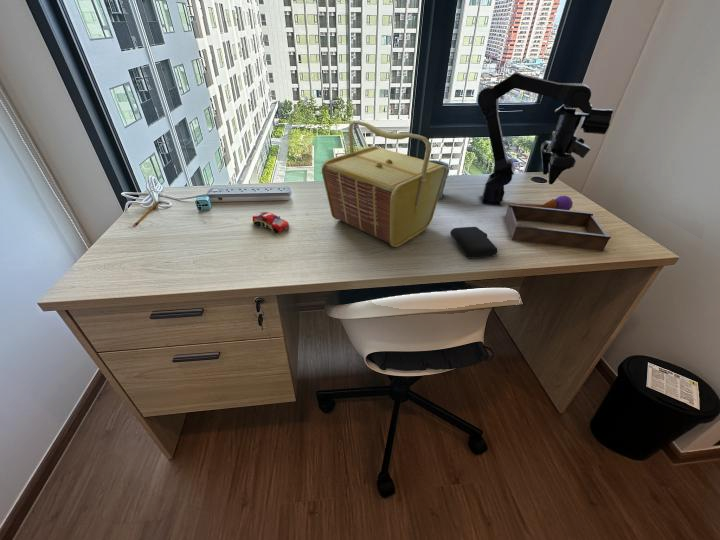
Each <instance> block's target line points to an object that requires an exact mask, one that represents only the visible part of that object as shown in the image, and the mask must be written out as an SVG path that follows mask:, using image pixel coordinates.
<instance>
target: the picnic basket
mask: <svg viewBox="0 0 720 540" xmlns="http://www.w3.org/2000/svg"><path fill="white" fill-rule="evenodd" d="M355 125H358V126H362V127H365V128H366V129H367V130H368V131H370V132H371V134H372V133H373V134H374V135H376V136H378V137H381V138H384V139H389V140H405V139H408V138H410V139H414V140H415V139H416V140H419V141H422V142H423V143H424V144H425V152H424V157H423V159H422V158H417V157H414V156H411V155H407V154H403V153H401V152H396V151H393V150H389V149H386V148H383V147H379V146H376V145H371V146H367V147H365V148H361V149H358V150H354V149H355V147H354V132H353V129H354V126H355ZM347 129H348V144H349V145H348V147H349V152H348V153H345V154H342V155H337V156H335V157H332V158H328V159H327V160H325V161H324V162H323V163H322V165H321V175H322V181H323V184H324V188H325V193H326V197H327V201H328V206H329V210H330V213H331V216H332V218H333V219H335V220H337V221H342V222H343V223H345V224H347V225H349V226H351V227H353V228H356V229H358V230H360V231H362V232H364V233H366V234H368V235H371V236H373V237H375V238H377V239H379V240H381V241H383V242H385V243H387V244H389V245H390V246H391V247H392V248H398V247H400V246H402V245H403V244H405V243H406V242H408V241H410V240H411V239H413V238H414V237H416V236H418V235H419V234H421V233H422V232H424V231H425V230H426V229H428V227H429V226H430V224H431V223H432V220H433V217H434V214H435V210H436V208H437V205H438V201H439V200H440V199H439V195H440V192H441V189H442V186H443V183H444V179H445V176H446V173H447V167H446V166H444V165H439V164H436V163H432V162H429V160H430V158H431V157H430V156H431V152H432V145H431V142H430V140H429V139H428V138H427V137H426V136H424V135H421V134H416V133H411V132H390V131H385V130H383V129H380V128H379V127H376V126H374V125H372V124H370V123H368V122H364V121H362V120H352V121H351V122H350V123H349V125H348V128H347Z"/></svg>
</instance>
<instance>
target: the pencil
mask: <svg viewBox="0 0 720 540" xmlns="http://www.w3.org/2000/svg"><path fill="white" fill-rule="evenodd" d="M159 203H160V200H157V201H156V202H155V203H154V204H153V205H152V206H151V207H150V208H149V209H148V210H147V211H146V212H145V213H144V214H143V215H142V216H141V217H140V218H139V219H138V220H137V221H136V222H135V223H134V224H133V225H132V227H133V228H135V227H137V226H138V225H139V223H140V222H142V221H143V219H145V217H147V215H148V214H149V213H151V211H152V210H153V209H154V208H156V207H157V206H158V204H159Z"/></svg>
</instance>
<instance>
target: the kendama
mask: <svg viewBox="0 0 720 540" xmlns="http://www.w3.org/2000/svg"><path fill="white" fill-rule="evenodd" d="M512 204H513V205H523V206H532V207H542V208H552V209H561V210H571V209H572V207H573V204H574V203H573V200H572V198H571V197H570V196H567V195H559V196H557V197H556V198H552V199H550V200H549V201H546V202H545V203H516V202H515V203H512Z"/></svg>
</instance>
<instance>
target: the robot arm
mask: <svg viewBox="0 0 720 540" xmlns="http://www.w3.org/2000/svg"><path fill="white" fill-rule="evenodd" d="M514 89H516V90H519V91H525V92H530V93H533V94H537V95H541V96H544V97H549V98H553V99H554V100H557V101H559V102H561V103H562V105H561V106H559V107H558V108H556V109H555V110H554V113H555V115H560V116H559V119H558V120H557V124H556V127H555V130H553V131H552V133H551V136H552V138H551V140H544V141H543V142H542V143H541V145H540V157H541V165H542V166H541V167H542V175H547V174H548V184H549V185H554V184H555V182H556V181H557V179H558V178H559V177H560V176H561V174H562V173H563V172H564V171H566V170H570V169H571V168H574V167H575V165H576V162H577V160H576V159H575V157H574V156H573V155H572V154H574V155H577V156H579V157H580V158H582V159H584V158H585V157H586V156H587V155H588V153H589V152H591V149H592V148H590V146H589V145H587V144H586V143H585V139H584V138H582V137H580V136H578V137H577V135H576V133H577V131H578V128H579V129H582V133H585V134H591V135H602V136H604V135H605V134H606V133H607V132H608V130H609V128H610V125H611V120H612V115H613V113H614V110H613V109H612V108H611V109H609V108H605V109H604V108H603V109H601V108H593V105H592V103H591V102H590V100H591V98H592V91H591V88H590V87H589V86H588V85H587V84H585V83H580V82H579V83H578V82H556V81H552V80H547V79H544V78H539V77H535V76H531V75H526V74H522V73H521V72H517V71H516V72H513V73H512V74H511V75H510V76H508V77H506V78H505V79H503V80H501V81H500V82H497V83H496V84H495V85H487V86H485V87H484V88H483V89H481V91H480V92H479V93H478V95H477V97H476V101H477V105H478V107H479V110H480V112H481V114H482V115H483V117H484V119H485V122H486V127H487V131H488V137H489V142H490V146H491V150H492V156H493V160H494V161H493V173H491V174H488V175H489V176H488V178H487V180H486V183H485V184H484V188H483V192H482V195H480V199H481V203H482V204H483V205H492V206H501V204H502V203H503V199H504V196H505V192H506V191H505V187H504V186H507V185H508V184H510V183H511V181H512V180H513V176H514V175H515V171H516V170H515V169H516V167H515V166H514V165H515V164H514V157H511V158H509V157H508V155H507V151H506V148H505V147H506V146H505V141H504V136H503V131H502V126H501V121H500V116H499V110H500V109H499V107H500V106H499V105H500V98H502V97H504V96H505V95H506V94H508V93H510V92H511V91H512V90H514ZM565 105H566V106H569V107H566V106H565ZM577 109H579V110H580V111H581V112H580V111H577ZM579 125H580V126H579Z"/></svg>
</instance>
